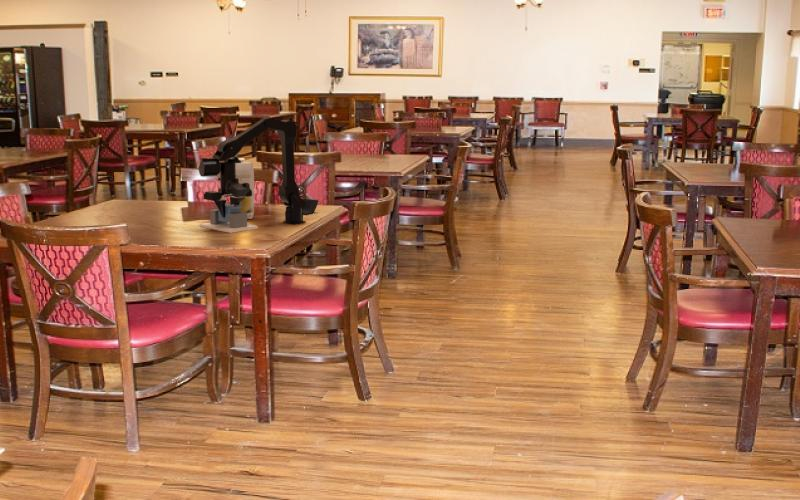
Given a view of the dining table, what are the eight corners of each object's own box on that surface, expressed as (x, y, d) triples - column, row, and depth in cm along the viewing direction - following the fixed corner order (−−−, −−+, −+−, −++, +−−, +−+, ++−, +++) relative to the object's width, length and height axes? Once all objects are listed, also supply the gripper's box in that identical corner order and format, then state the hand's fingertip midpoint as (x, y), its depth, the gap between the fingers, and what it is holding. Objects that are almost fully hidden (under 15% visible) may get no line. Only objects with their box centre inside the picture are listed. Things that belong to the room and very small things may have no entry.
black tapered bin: (282, 210, 366) (292, 189, 370) (287, 218, 372) (296, 198, 376) (307, 216, 362) (316, 195, 366) (312, 224, 369) (321, 204, 372)
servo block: (224, 218, 335) (224, 201, 334) (242, 222, 328) (242, 205, 327) (215, 219, 332) (214, 203, 331) (233, 223, 325) (233, 206, 324)
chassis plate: (227, 222, 341) (227, 206, 340) (257, 228, 330) (257, 212, 329) (199, 226, 332) (199, 210, 330) (230, 232, 320) (230, 216, 319)
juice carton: (231, 219, 348) (230, 159, 343) (229, 216, 356) (228, 157, 351) (255, 219, 351) (254, 159, 346) (252, 216, 358) (252, 157, 353)
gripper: (221, 179, 315) (222, 222, 318) (261, 175, 329) (262, 216, 332) (202, 176, 322) (203, 218, 325) (242, 172, 336) (242, 213, 339)
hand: (228, 216), depth 330 cm, fingers closed on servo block, 4 cm apart
